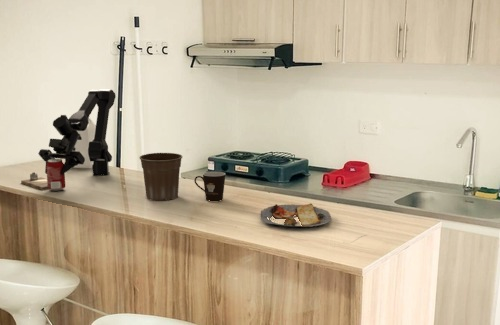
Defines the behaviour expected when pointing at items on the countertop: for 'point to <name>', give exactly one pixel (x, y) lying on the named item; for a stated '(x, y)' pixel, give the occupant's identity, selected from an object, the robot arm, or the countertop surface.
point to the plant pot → (161, 175)
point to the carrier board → (36, 182)
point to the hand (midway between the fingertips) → (53, 173)
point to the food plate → (305, 214)
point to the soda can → (55, 175)
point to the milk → (85, 144)
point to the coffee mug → (213, 185)
